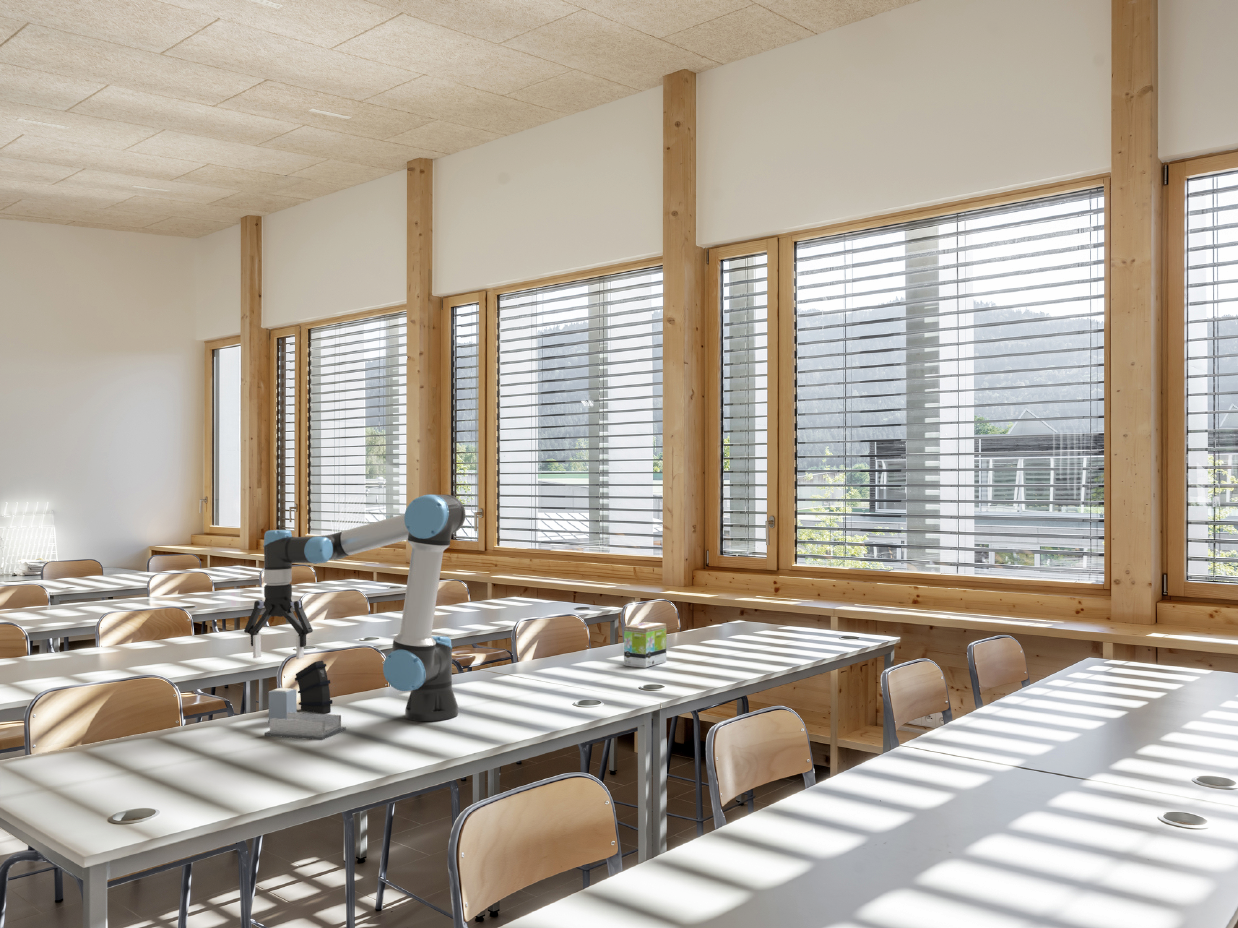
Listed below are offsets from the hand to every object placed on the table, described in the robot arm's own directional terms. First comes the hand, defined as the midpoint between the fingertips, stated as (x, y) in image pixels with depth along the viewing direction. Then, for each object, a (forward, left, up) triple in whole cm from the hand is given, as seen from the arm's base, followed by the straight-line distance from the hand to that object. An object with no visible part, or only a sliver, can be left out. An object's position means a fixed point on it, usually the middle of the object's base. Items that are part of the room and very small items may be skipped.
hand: (278, 658), depth 276 cm
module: (-2, +1, -18) cm, 18 cm away
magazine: (-2, -14, -18) cm, 23 cm away
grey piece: (-16, +10, -18) cm, 26 cm away
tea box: (-78, -111, -18) cm, 137 cm away
